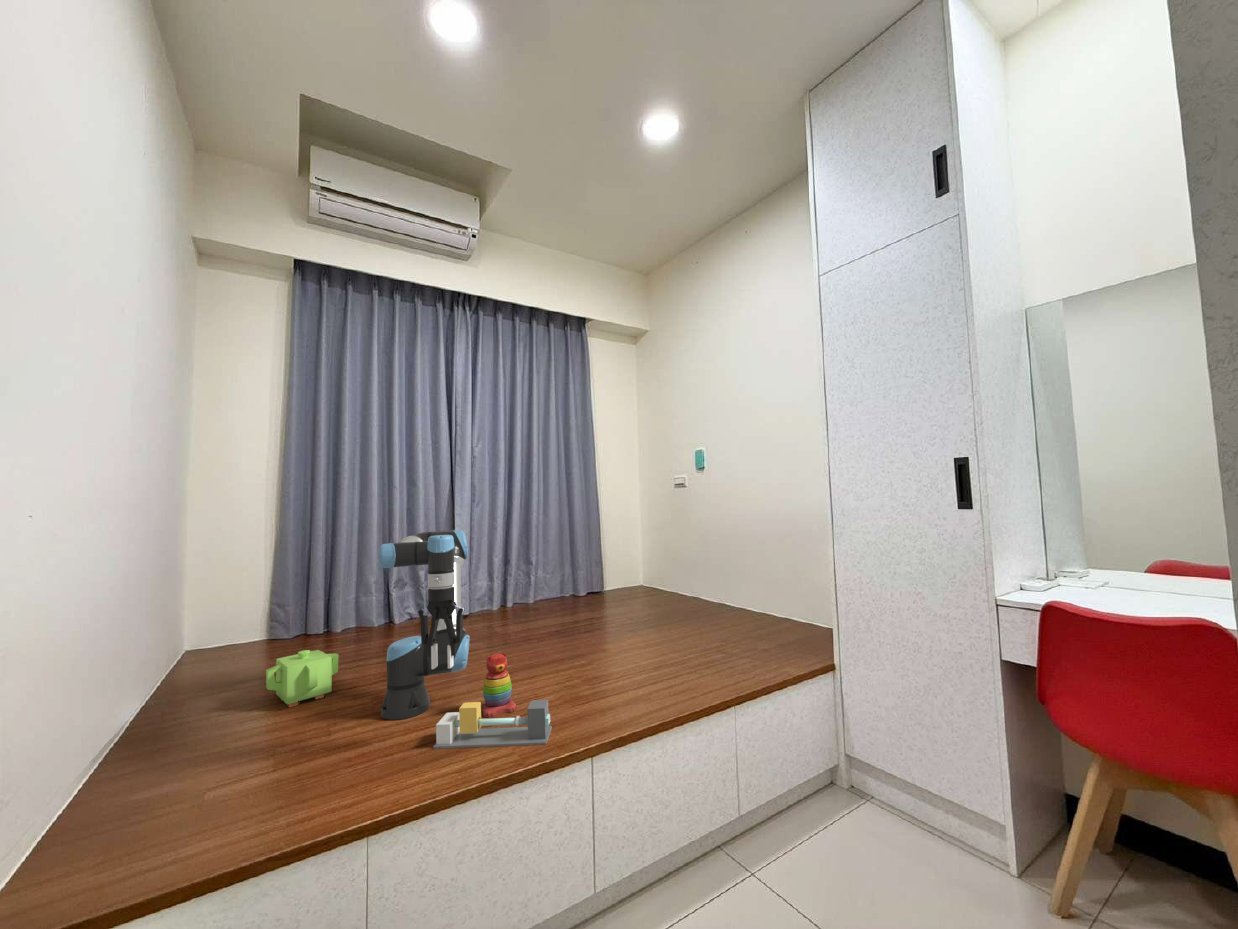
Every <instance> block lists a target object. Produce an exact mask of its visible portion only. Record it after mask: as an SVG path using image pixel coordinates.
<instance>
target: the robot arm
mask: <svg viewBox="0 0 1238 929" xmlns="http://www.w3.org/2000/svg"><path fill="white" fill-rule="evenodd" d="M468 558H469V551H468V542H467V537H466V533H465V531H463V530H462V529H461V530H460V529H459V530H456V529H452V530H440V531H423V532H418V533H416V534H415V533H414V534H412V535H409V536H406V537H404V538H402V539H401V540H400V541H399V542H389V543H383V544H382V543H381V545H380V547H379V549H378V562H379V563H378V564H379V566H380V567H381V568H382V569H388V568H389V569H393V568H400V567H401V568H403V567H414V566H416V567H417V566H427V570H428V571H427V587H429V589H428V590H427V600H428V603H427V606H426V607H425V608H421V609H420V610H418V611H417V614H418V616H419V618H420V619H419V620H420V635H413V636H409V637H405V638H401V639H399V640H396V641H394V642H393V643H391V644H389V646H388V647H387V651H386V659H385V661H386V693H385V696H384V698H383V702H382V705H381V708H380V709H381V710H380V711H381V713H380V715H381V718H382V719H385V720H390V721H391V720H393V721H395V720H404V719H405V720H406V719H409V718H413V717H416V716H418V715H421V714H423V713H424V712H427V710H429V709H430V706H431V697H430V695H429V692H428V689H427V687H426V684H425V677H427V676H428V677H429V676H434V675H442V674H449V673H451V674H453V673H456V672H460V671H464V670H465V669H466V667H467V665H468V659H469V650H470V635H468V634H466V629H465V628H464V613H465V611H466V608H465V607H464V606H462V601H461V600H462V598H461V597H462V596H461V595H462V592H461V591H462V589H461V588H462V587H461V585H462V584H461V580H462V578H461V577H462V576H461V573H462V572H461V568H462V566H463V565H464V564H465V560H467V559H468ZM429 614H430V615H431V621H430V629H429V616H428V615H429Z"/></svg>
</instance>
